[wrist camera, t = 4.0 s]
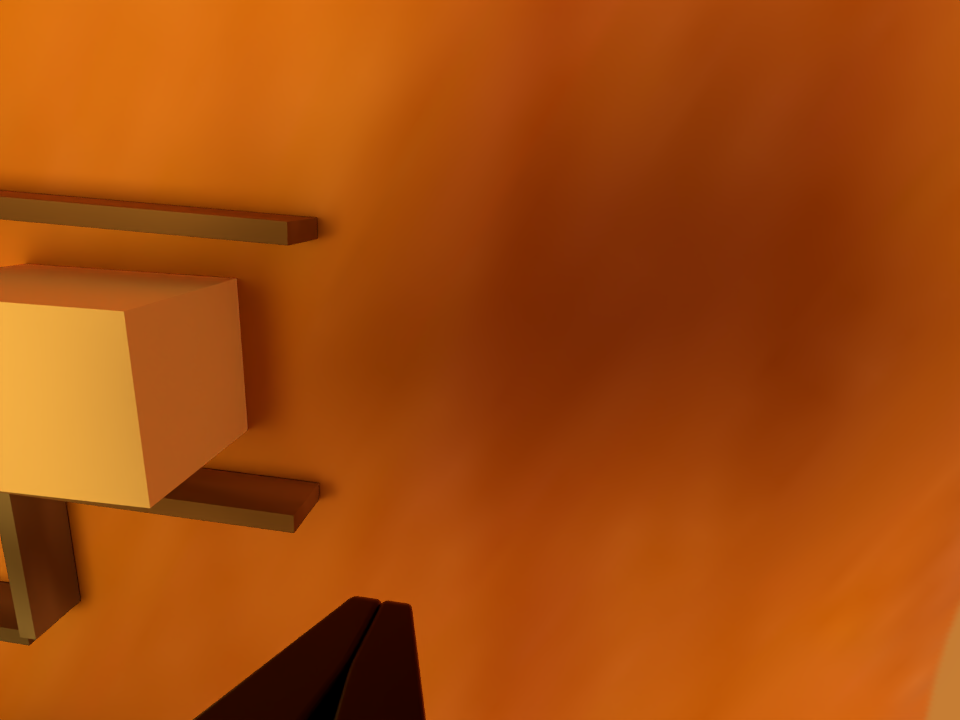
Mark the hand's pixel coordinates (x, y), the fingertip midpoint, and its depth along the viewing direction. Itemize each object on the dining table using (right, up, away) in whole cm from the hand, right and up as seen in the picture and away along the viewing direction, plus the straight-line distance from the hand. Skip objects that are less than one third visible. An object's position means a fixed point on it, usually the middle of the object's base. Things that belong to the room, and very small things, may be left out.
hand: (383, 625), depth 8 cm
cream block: (-10, +4, +11) cm, 15 cm away
